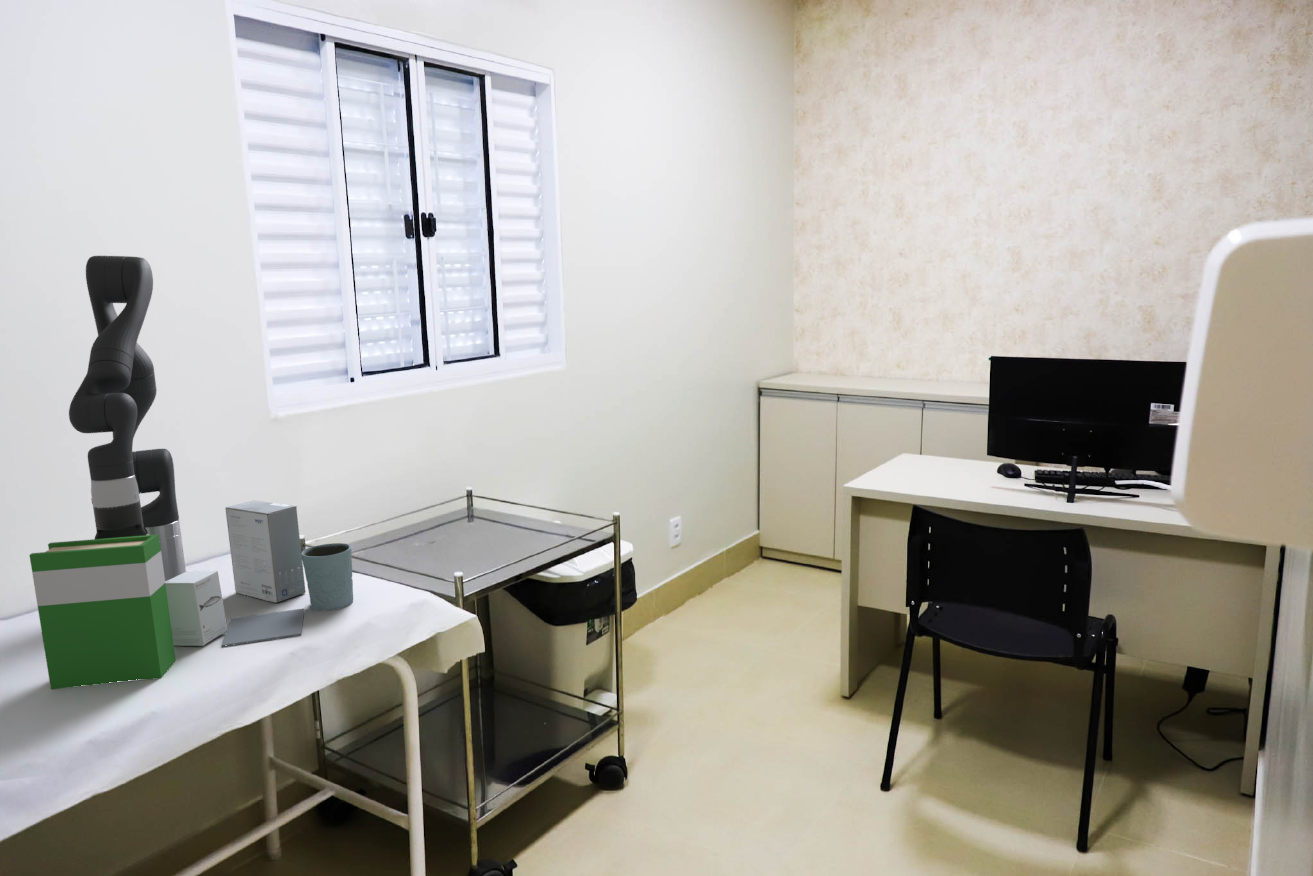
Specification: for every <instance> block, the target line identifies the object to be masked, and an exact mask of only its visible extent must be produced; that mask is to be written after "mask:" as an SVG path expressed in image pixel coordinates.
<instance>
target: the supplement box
mask: <svg viewBox="0 0 1313 876" xmlns="http://www.w3.org/2000/svg"><path fill="white" fill-rule="evenodd" d="M165 584H166V592H167V599H168V607H169V614H170V622H171V629H172V637H173V644H174V646H179V647H180V646H182V647H183V646H184V647H204V646H205V645H207V644H208V643H210V642H211V641H213V640H215V639H216V638H218V637H219V636H221V635H223V634H226V632H227V628H228V625H227V624H228V623H227V618H226V612H225V607H224V601H223V594H222V588H221V583H220V576H219V571H218V570H192V571H190V570H189V571H188V570H186V572H184V573H182V574H180V575H178V576H176V577H174V578H172V579H170V580H168V581H166V582H165Z"/></svg>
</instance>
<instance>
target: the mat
mask: <svg viewBox="0 0 1313 876" xmlns="http://www.w3.org/2000/svg"><path fill="white" fill-rule="evenodd" d="M304 613H305V609H304V607H303V608H297V609H296V608H295V609H289V610H282V611H276V612H275V611H274V612H268V613H267V612H266V613H261V614H255V615H254V614H253V615H245V616H240V617H232V618H230V620H229V623H228V625H227V632H225V633H224V638H223V640H222V644H221V647H222V646H225V645H233V644H240V645H243V644H242V643H246V644H250V642H253V643H258V642H259V641H260V642H264V641H265V640H267V641H273V640H277V639H276V638H280V639H286V638H293V636H294V637H299V636H302V633H303V632H302V631H303V623H304ZM272 639H273V640H272ZM247 642H248V643H247ZM233 646H234V645H233Z"/></svg>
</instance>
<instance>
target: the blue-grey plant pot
mask: <svg viewBox="0 0 1313 876" xmlns="http://www.w3.org/2000/svg"><path fill="white" fill-rule="evenodd" d="M352 555H353V554H352V545H351V544H349V543H340V542H338V543H334V542H333V543H325V544H319V545H314V546H310V547H308V548H305V549H304V550H301V556H302V563H303V571H304V575H305V580H306V583H307V589H308V590H307V591H308V595H309V602H310V606H311V609H312V610H316V611H321V610H325V611H327V610H328V611H334V610H339V609H338V608H340V609H343V608H346V607H349V606H350V605H351V604H353V602H354V587H353V586H354V585H353V584H354V582H353V560H352V559H353V558H352ZM349 604H350V605H349Z"/></svg>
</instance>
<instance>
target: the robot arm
mask: <svg viewBox="0 0 1313 876" xmlns="http://www.w3.org/2000/svg"><path fill="white" fill-rule="evenodd" d="M85 281H86V287H87V291H88V296H89V301H90V306H91V309H92V313H93V319H94V322H95V327H96V330H97V331H96V332H97V337H96V339H95V340H94V342H93V343H92V346H91V348H90V349H91V350H90V353H89V360H88V367H87V372H86V375H85V376H84V378H83V380H82V382H81V384H80V386H79V387H78V389H77V391H76V392H75V394H74V396H73V398H72V399H71V402H70V404H69V409H68V417H69V422H70V424H71V426H72V428H74V429H75V430H76V431H77V432H78V433H79V432H80V433H82V434H99V433H100V434H101V433H112V440H111V442H109V443H105V444H101V445H97V446H94V447H92V448H90V449H88V450H89V451H87V463H88V464H87V465H88V469H89V476H90V494H91V498H90V499H91V504H92V507H93V515H94V522H95V529H96V532H95V533H96V534H95V536H94V539H105V538H118V537H131V536H144V535H157V534H159V540H160V547H161V554H162V562H163V569H164V577H165V582H166V581H168V580H170V579H172V578H174V577H176V576H178V575H180V574H182V573H184V572H187V570H186V569H187V568H186V562H185V561H186V560H185V552H184V545H183V538H182V531H181V523H180V515H179V509H178V503H177V494H176V482H175V479H176V478H175V468H174V467H175V465H174V461H173V457H172V454H171V452H170V450H168V449H166V448H155V449H152V448H151V449H143V450H136V451H135V450H134V451H133V443H134V438H135V435H136V433H137V431H138V428H139V427H140V425H141V423H142V421H143V420H144V418H145V416H146V415H147V413H148V412H149V410H150V409H151V407H152V405H153V404H154V401H155V399H156V396H157V390H158V389H157V384H156V383H157V382H156V377H155V376H156V375H155V368H154V364H153V362H152V359H151V358H150V355H148V353H147V352H146V351H145V350H144V348H143V347H142V346H141V345H140V344H139V343H138V339H139V336H140V333H141V330H142V326H143V325H144V321H145V318H146V316H147V312H148V309H149V306H150V302H151V299H152V295H153V291H154V290H153V289H154V276H153V270H152V268H151V265H150V263H149V261H148V260H147V259H145V257H140V256H129V255H125V256H124V255H93V256H91V257H89V258H88V259H87V261H86V265H85ZM114 304H125V306H124V308H123V309H122V311H120V313H119V314H117V312H116V309H115V306H114ZM155 492H159V494H158V495H157V497H156V498H154V499H153V500H152V501H151V502H148V503H147V504H145V505H142V506H141V499H140V497H141V496H140V495H141V494H148V493H155Z"/></svg>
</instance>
